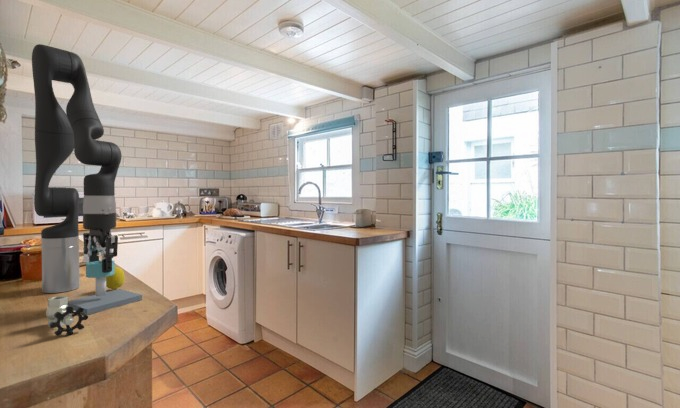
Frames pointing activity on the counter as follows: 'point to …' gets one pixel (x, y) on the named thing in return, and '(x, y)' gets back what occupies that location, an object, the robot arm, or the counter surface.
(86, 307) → the post stand
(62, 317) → the valve
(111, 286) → the lemon
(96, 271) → the collar
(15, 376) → the counter surface
